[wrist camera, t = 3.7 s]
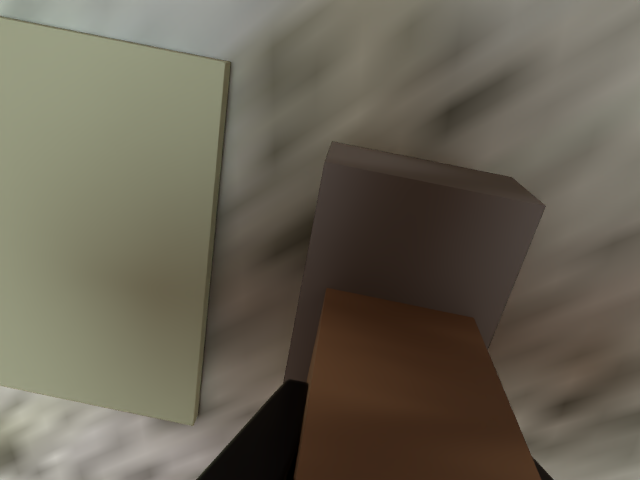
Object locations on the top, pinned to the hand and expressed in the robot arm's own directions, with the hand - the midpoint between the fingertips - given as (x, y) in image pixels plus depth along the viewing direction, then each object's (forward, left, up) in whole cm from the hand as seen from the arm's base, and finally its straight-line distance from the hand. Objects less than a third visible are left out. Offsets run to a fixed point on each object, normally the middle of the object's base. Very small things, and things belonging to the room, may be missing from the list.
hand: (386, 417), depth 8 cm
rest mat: (+10, +1, -6) cm, 12 cm away
